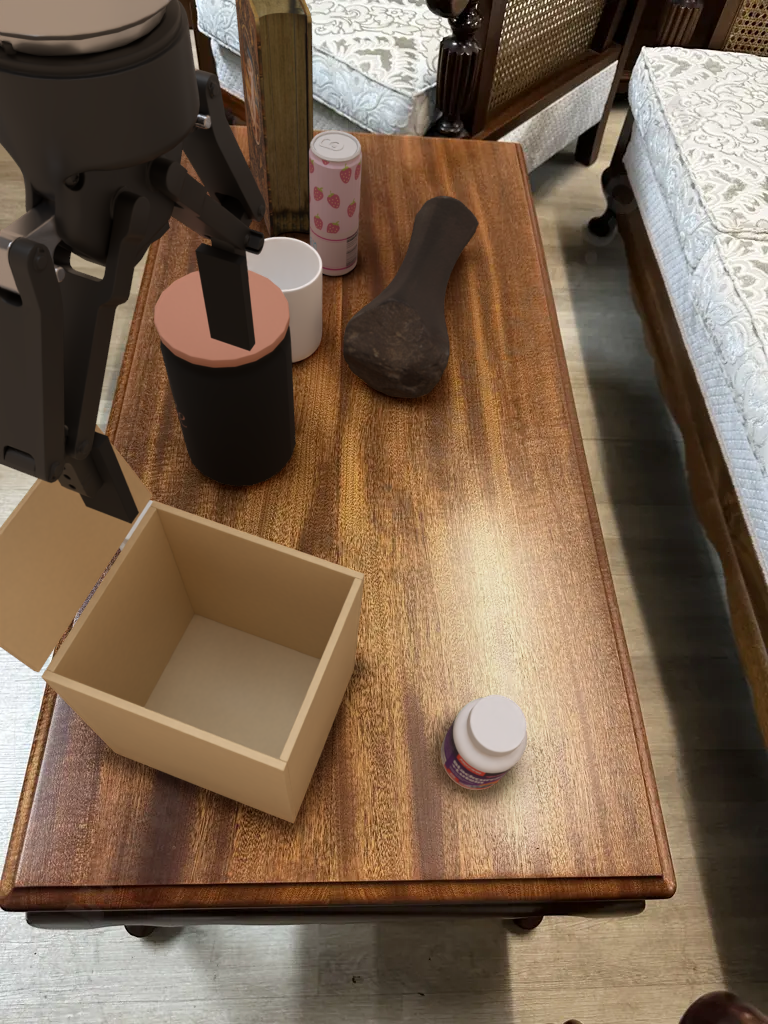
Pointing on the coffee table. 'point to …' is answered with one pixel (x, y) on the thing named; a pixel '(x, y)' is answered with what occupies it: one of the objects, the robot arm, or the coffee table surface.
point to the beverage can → (335, 199)
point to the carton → (214, 657)
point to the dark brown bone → (412, 307)
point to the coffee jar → (230, 383)
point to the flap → (54, 562)
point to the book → (278, 106)
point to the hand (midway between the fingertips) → (178, 418)
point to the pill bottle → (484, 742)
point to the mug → (295, 288)
